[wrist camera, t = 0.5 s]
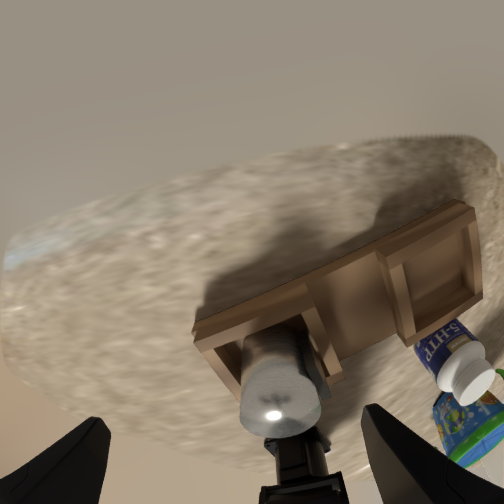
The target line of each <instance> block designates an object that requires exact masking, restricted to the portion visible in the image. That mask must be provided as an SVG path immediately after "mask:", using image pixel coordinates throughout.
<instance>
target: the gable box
mask: <svg viewBox="0 0 504 504" xmlns="http://www.w3.org/2000/svg"><path fill="white" fill-rule="evenodd" d="M480 461H481V463H482V465H483V467H484V469H485V470H486V472H487V474H488V476H489V478H490V480H491V482H492V483H493V484H495V485H497V486H500V487H502V488H504V439H503V440H502V441H501V442H500V443H499V444H498V445H497V446H496V447H495V448H494V449H492V450H491V451H490V452H489V453H488V454H486V455H485V456H484V457H482V458H481V459H480Z"/></svg>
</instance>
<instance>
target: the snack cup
mask: <svg viewBox="0 0 504 504" xmlns="http://www.w3.org/2000/svg"><path fill="white" fill-rule="evenodd" d="M495 372H496V373H498V374H500V375H501V376H502V378H503V379H504V370H502V369H496V370H495ZM433 417H434V420H435V423H436V426H437V429H438V432H439V435H440V439H441V442H442V444H443V447H444V449H445V451H446V456H447V457H448V459H451V460H453V461H454V462H455V463H457V464H458V465H460V466H461V467H463V468H464V469H465V468H467V467H469V466H471V465H472V464H474V463H475V462H477V461H478V460H480V459H481V458H482V457H484V456H485V455H486V454H488V453H489V452H490V451H491V450H492V449H494V448H495V447H496V446H497V445H498V444H499V443H500V442H501V441H502V440H503V439H504V404H503V403H501V402H500V401H499V400H498V399H497V398H496V397H495V396H494V395H493V394H492V393H491V392H489V391H488V390H487V391H486V392H485V393H484V394H483V395H482V396H481V397H480V398H479V399H477V400H476V401H475V402H473V403H471V404H469V405H466V406H461V405H460V404H459V403H458V401H457V400H456V399H455V397H454V395H453V393H452V392H446V393H445V394H444V395H442V397H441V398H440V399H439V401H438V402H437V405H435V407H434V408H433ZM435 448H436V449H437V447H435ZM437 450H438V449H437Z"/></svg>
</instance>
